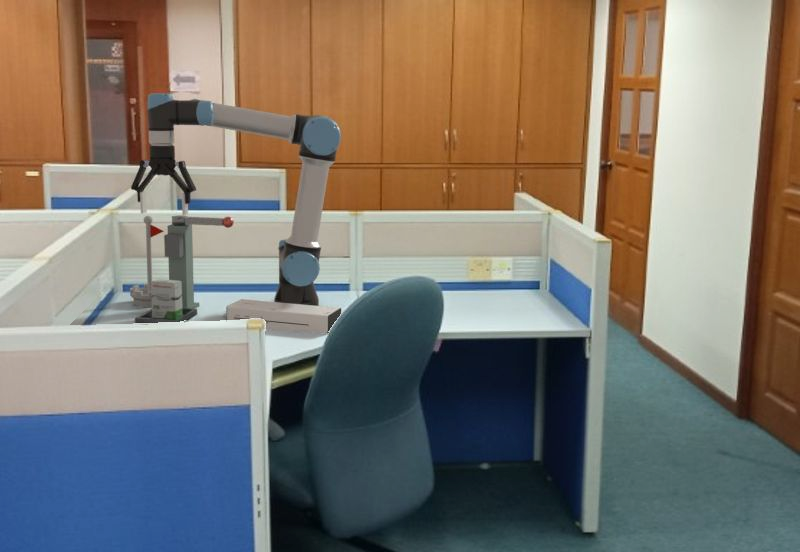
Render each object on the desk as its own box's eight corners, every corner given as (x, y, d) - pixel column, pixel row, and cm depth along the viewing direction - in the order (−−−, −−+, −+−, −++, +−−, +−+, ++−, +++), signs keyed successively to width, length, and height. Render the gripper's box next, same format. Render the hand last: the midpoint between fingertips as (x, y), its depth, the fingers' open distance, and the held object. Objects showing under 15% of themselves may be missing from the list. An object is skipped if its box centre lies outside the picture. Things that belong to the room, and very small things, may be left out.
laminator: (226, 325, 289) (226, 306, 287) (243, 316, 300) (243, 298, 299) (328, 335, 279) (328, 315, 278) (342, 326, 291) (342, 307, 290)
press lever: (169, 226, 301) (169, 215, 300) (175, 224, 305) (175, 213, 305) (230, 229, 297) (230, 217, 297) (236, 226, 302) (235, 215, 302)
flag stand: (125, 307, 308) (122, 218, 301) (136, 298, 320) (133, 212, 314) (164, 308, 308) (162, 219, 301) (174, 299, 320) (172, 213, 314)
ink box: (183, 316, 295) (182, 280, 292) (175, 320, 290) (174, 283, 288) (159, 314, 297) (158, 278, 295) (151, 317, 293) (149, 280, 290)
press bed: (197, 314, 300) (197, 308, 300) (177, 326, 285) (177, 320, 284) (156, 311, 302) (156, 306, 302) (135, 323, 287) (134, 318, 286)
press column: (199, 306, 311) (197, 223, 306) (186, 313, 301) (184, 228, 295) (174, 304, 313) (171, 222, 307) (160, 312, 302) (158, 227, 296)
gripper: (205, 144, 284) (207, 213, 289) (128, 143, 288) (131, 210, 292) (196, 146, 277) (198, 216, 281) (118, 144, 281) (121, 213, 285)
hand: (164, 213), depth 287 cm, fingers open, 13 cm apart
